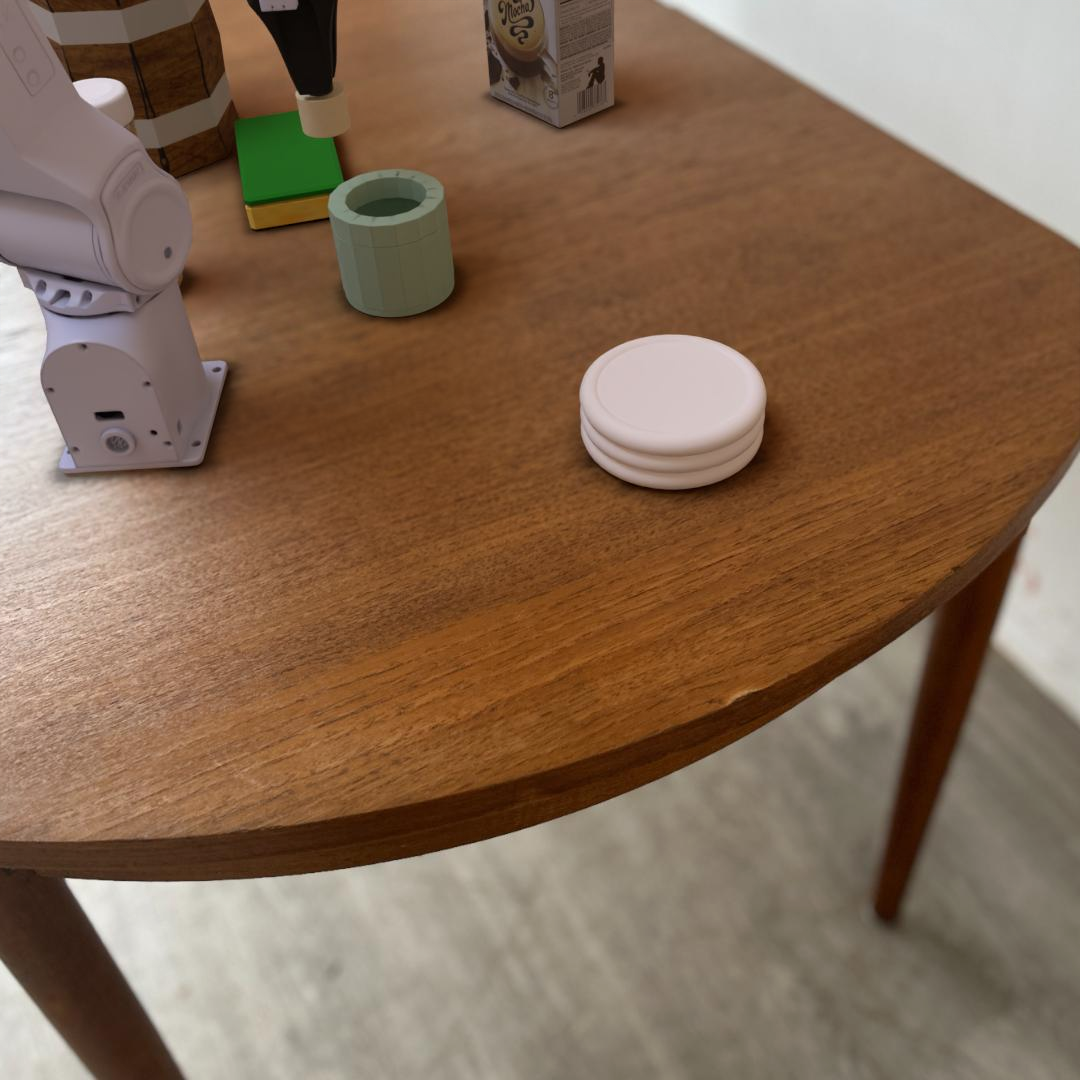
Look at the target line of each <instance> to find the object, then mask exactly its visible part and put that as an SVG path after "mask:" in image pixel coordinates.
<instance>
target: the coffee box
mask: <svg viewBox="0 0 1080 1080" xmlns="http://www.w3.org/2000/svg"><path fill="white" fill-rule="evenodd" d="M482 6H483V18H484V35H485V44H486V56H487V68H488V81H489V93H490V96H491V97H493V98H496V99H498V100H500V101H502V102H504V103H506V104H508V105H511V106H513V107H514V108H516V109H519V110H521V111H523V112H525V113H527V114H529V115H531V116H533V117H536V118H537V119H540V120H542V121H544V122H545V123H548V124H550V125H552V126H554V127H556V128H563V127H565V126H568V125H571V124H573V123H575V122H577V121H580V120H582V119H585V118H586V117H590V116H591V115H593V114H596V113H598V112H601V111H603V110H606V109H608V108H610V107H612V106H614V105H615V0H482Z"/></svg>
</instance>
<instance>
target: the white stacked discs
mask: <svg viewBox="0 0 1080 1080" xmlns="http://www.w3.org/2000/svg"><path fill="white" fill-rule="evenodd" d="M578 397H579V404H580V408H579V417H580V436H581V438H582V442H583V445H584V446H585V449H586V450H587V453H588V454H589V456H590V457H591V458H592V460H593V461H594V462H595V463H596V464H597V465H598V466H599V467H600V468H602V469H604V470H605V472H608V473H609V474H610V475H612V476H615V477H616V478H618V479H620V480H622V481H625V482H628V483H631V484H633V485H637V486H641V487H645V488H651V489H657V490H674V491H675V490H689V489H694V488H700V487H704V486H709V485H713V484H716V483H719V482H721V481H723V480H726V479H728V478H730V477H732V476H733V475H735V474H736V473H739V472H740V471H741V470H742V469H744V468H745V467H746V466H747V465H748V464H749V463H750V462H751V461H752V460H753V459H754V457H755V456H756V454H757V453H758V450H759V449H760V446H761V443H762V442H763V436H764V424H765V418H766V410H765V409H766V405H767V399H768V398H767V388H766V385H765V382H764V379H763V376H762V374H761V372H760V371H759V370H758V368H757V367H756V366H755V365H754V363H753V362H752V361H751V360H750V359H749V358H748V357H746V355H744V354H742V353H741V352H740V351H737V350H735V349H734V348H733V347H730V346H728V345H726V344H723V343H722V342H719V341H716V340H713V339H709V338H705V337H701V336H695V335H689V334H655V335H650V336H644V337H640V338H635V339H631V340H628V341H626V342H624V343H621V344H619V345H617V346H615V347H612V348H611V349H609V350H607V351H606V352H605V353H602V354H601V355H600V356H598V357H597V358H596V359H595V360H594V361H593V362H592V363H591V365H590V366H589V367H588V369H586V372H585V373H584V375H583V377H582V381H581V383H580V387H579V393H578Z"/></svg>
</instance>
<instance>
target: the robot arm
mask: <svg viewBox="0 0 1080 1080" xmlns="http://www.w3.org/2000/svg"><path fill="white" fill-rule="evenodd" d="M246 2H247V4H248V6H249V7H250V9H251V10H252V11H253V12H254V13H255V14H256V16H257V17H258V18H259V20H260V21H261V22H262V23H263V25H264V26H265V27H266V29H267V30H268V32H269V34H270V36H271V37H272V39H273V41H274V43H275V45H276V47H277V49H278V51H279V53H280V56H281V58H282V61H283V62H284V64H285V67H286V69H287V72H288V75H289V77H290V80H291V81H292V83H293V85H294V87H295V90H296V91H298V93H299V95H312V94H328V93H331V89H332V81H334V79H335V77H336V72H337V62H338V61H337V60H338V5H339V0H246ZM193 225H194V224H193V217H192V210H191V207H190V203H189V200H188V197H187V195H186V193H185V191H184V189H183V187H182V186H181V184H180V182H179V181H178V180H177V179H176V178H174V177H173V176H172V175H170V174H168V173H167V172H165V171H164V170H162V169H160V168H159V167H158V166H157V165H156V164H155V163H154V162H153V161H152V160H151V159H150V157H149V155H148V154H147V152H146V150H145V148H144V146H143V145H142V143H141V141H140V139H138V138H137V137H136V136H135V135H134V134H132V133H131V132H130V131H128V130H127V129H125V128H124V127H123V126H121V125H120V124H118V123H117V122H115V121H114V120H112V119H111V118H110V117H108V116H107V115H105V114H104V113H102V112H101V111H99V110H98V109H96V108H95V107H93V106H92V105H91V104H89V103H88V102H87V101H85V100H84V99H83V98H82V97H80V96H79V94H78V92H77V90H76V89H75V87H74V85H73V83H72V81H71V80H70V78H69V76H68V74H67V73H66V71H65V69H64V67H63V65H62V64H61V62H60V60H59V58H58V57H57V55H56V53H55V51H54V50H53V48H52V46H51V44H50V42H49V41H48V39H47V37H46V35H45V34H44V32H43V30H42V28H41V26H40V25H39V23H38V21H37V19H36V18H35V16H34V14H33V12H32V11H31V9H30V7H29V5H28V3H27V2H26V0H0V263H2V264H3V265H4V264H5V265H6V266H9V267H15V268H16V270H17V273H18V276H19V277H20V281H21V282H22V285H23V287H24V288H26V289H29V290H31V291H32V292H33V293H34V295H35V298H36V300H37V303H38V305H39V308H40V311H41V313H42V316H43V320H44V323H45V329H46V345H45V351H44V355H43V359H42V361H41V365H40V371H39V378H40V385H41V388H42V392H43V394H44V396H45V398H46V401H47V403H48V406H49V407H50V410H51V413H52V415H53V417H54V419H55V422H56V424H57V426H58V429H59V431H60V434H61V436H62V439H63V441H64V443H65V447H64V450H63V452H62V455H61V457H60V459H59V462H58V468H59V470H60V472H61V473H63V474H81V473H96V472H113V471H115V472H116V471H129V470H146V469H162V468H164V469H165V468H180V467H194V466H195V467H196V466H198V465H200V464H202V462H203V461H204V458H205V455H206V451H207V448H208V444H209V440H210V436H211V434H212V433H211V432H212V429H213V425H214V421H215V419H216V415H217V410H218V407H219V402H220V399H221V396H222V391H223V388H224V384H225V382H226V381H225V380H226V378H227V374H228V371H229V367H228V364H227V362H226V361H224V360H207V361H203V360H202V358H201V355H200V352H199V351H200V350H199V347H198V344H197V341H196V338H195V334H194V331H193V328H192V325H191V322H190V318H189V315H188V312H187V308H186V305H185V302H184V299H183V295H182V293H181V292H182V291H181V288H180V286H179V285H178V282H177V279H176V278H177V277H178V276H179V275H180V274H181V273H182V274H183V271H184V270H185V268H184V267H185V265H186V263H187V260H188V258H189V255H190V252H191V248H192V245H193V243H192V242H193V237H194V236H193V234H194V229H193V228H194V227H193Z"/></svg>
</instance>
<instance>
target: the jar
mask: <svg viewBox="0 0 1080 1080" xmlns="http://www.w3.org/2000/svg"><path fill="white" fill-rule="evenodd" d="M328 211H329V216H330V217H329V221H330V226H331V231H332V237H333V242H334V247H335V252H336V257H337V262H338V267H339V273H340V279H341V283H342V289H343V291H344V293H345V297H346V300H347V302H348V303H349V304H350V305H351V306H352V307H353V308H354V309H356V310H357V311H359V312H362V313H363V314H367V315H369V316H374V317H380V318H381V317H382V318H401V317H402V318H403V317H409V316H414V315H417V314H421V313H425V312H426V311H429V310H431V309H434V308H435V307H437V306H439V305H440V304H441V303H443V302H445V300H447V299H448V298H449V296H450V295H451V294H452V293H453V290H454V287H455V284H456V283H455V266H454V260H453V259H454V258H453V250H452V243H451V234H450V225H449V218H448V217H449V216H448V207H447V201H446V192H445V187H444V186H443V185H442V183H441V182H440V181H439V180H438V179H437V178H436V177H435V176H432V175H429V174H428V173H425V172H422V171H420V170H414V169H406V168H395V169H394V168H391V169H379V170H375V171H374V170H373V171H369V172H366V173H361V174H358V175H356V176H353V177H352V178H350V179H348V180H346V181H344V183H342V184H340V185H339V186H338V187H337V188H336V189H335V190H334V191H333V192H332V193H331V194H330V197H329V202H328Z"/></svg>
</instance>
